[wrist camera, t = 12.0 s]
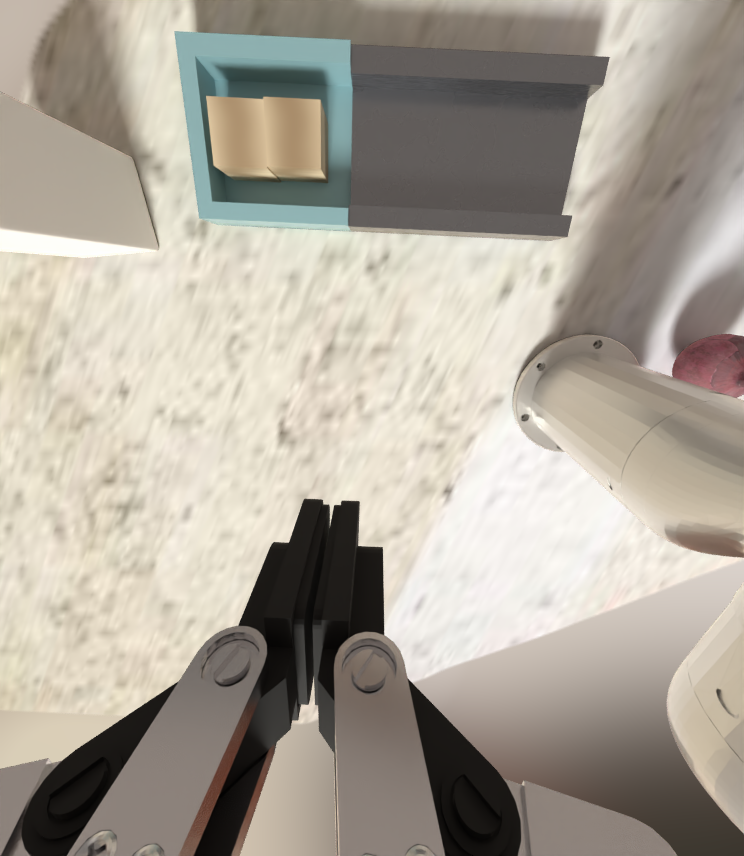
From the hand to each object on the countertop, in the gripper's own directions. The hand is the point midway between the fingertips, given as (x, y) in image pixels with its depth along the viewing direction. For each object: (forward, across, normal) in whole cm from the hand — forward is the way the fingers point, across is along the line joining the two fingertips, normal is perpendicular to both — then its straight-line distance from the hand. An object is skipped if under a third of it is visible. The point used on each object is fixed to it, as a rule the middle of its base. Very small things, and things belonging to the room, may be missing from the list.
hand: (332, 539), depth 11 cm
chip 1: (+27, +10, -17) cm, 33 cm away
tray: (+27, +8, -17) cm, 33 cm away
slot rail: (+27, -7, -17) cm, 33 cm away
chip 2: (+27, +6, -17) cm, 32 cm away
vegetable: (+27, -32, -1) cm, 42 cm away
